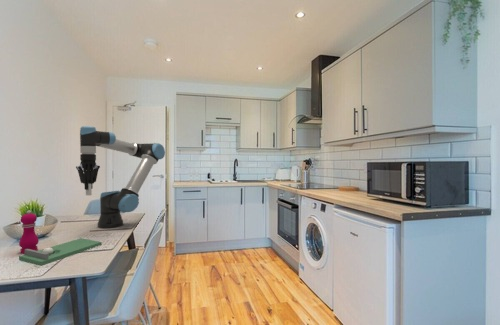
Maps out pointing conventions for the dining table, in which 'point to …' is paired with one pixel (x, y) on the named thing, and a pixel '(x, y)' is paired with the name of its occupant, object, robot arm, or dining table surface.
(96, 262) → the dining table surface
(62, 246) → the putting mat
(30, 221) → the pepper mill
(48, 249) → the ball
